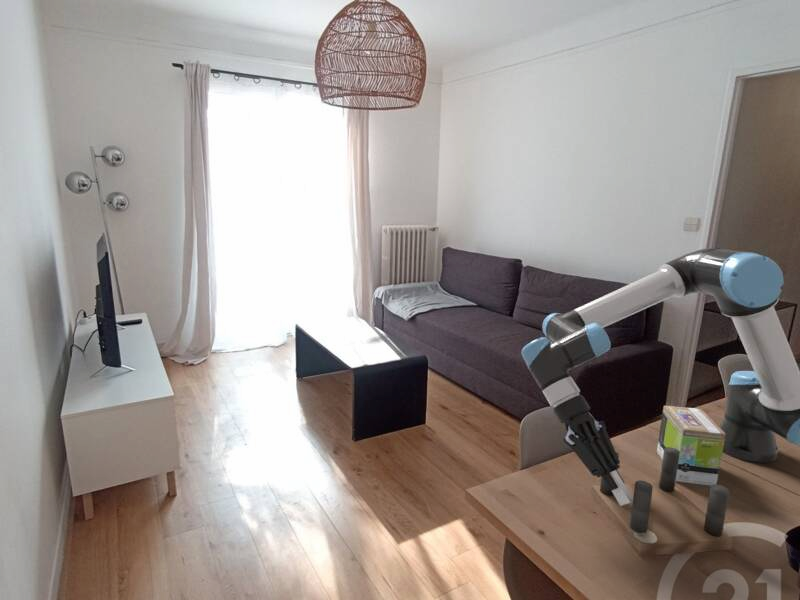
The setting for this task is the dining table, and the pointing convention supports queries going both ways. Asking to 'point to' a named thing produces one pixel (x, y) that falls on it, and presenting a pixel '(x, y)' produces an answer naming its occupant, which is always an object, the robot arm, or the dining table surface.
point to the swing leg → (641, 507)
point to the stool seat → (670, 515)
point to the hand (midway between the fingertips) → (627, 503)
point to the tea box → (692, 444)
